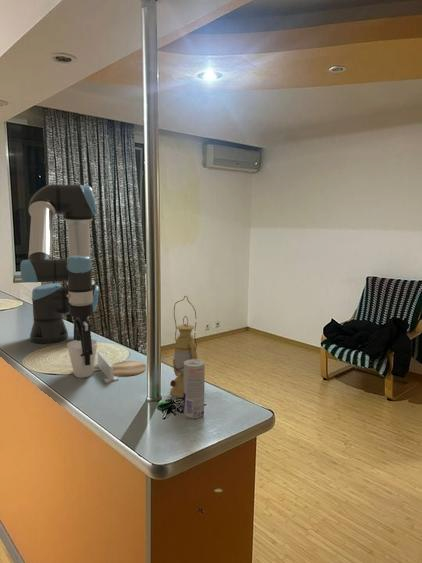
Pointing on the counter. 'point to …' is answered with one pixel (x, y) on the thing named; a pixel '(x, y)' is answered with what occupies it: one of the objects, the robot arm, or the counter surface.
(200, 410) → the beverage can
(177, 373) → the lantern
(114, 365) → the cork coaster
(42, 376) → the counter surface
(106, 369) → the acrylic wall
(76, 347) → the cup
